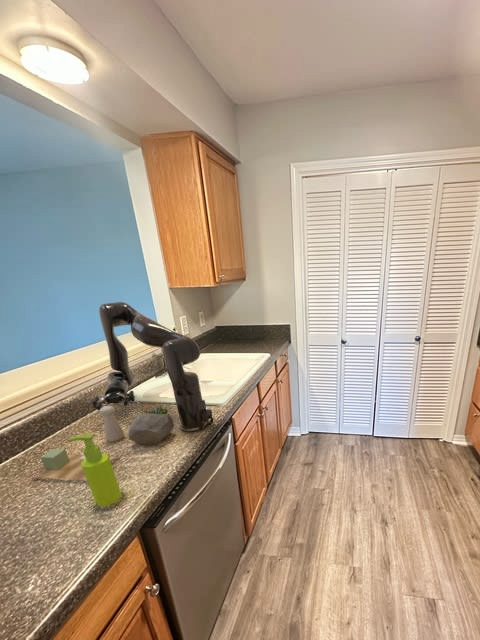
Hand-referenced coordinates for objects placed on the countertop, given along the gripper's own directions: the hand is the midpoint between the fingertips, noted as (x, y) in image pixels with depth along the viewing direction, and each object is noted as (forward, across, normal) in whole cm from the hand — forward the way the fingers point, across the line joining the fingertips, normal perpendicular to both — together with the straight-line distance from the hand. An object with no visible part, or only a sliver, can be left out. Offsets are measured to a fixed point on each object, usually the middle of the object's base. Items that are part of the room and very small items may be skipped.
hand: (112, 406), depth 120 cm
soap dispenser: (+45, +2, +10) cm, 46 cm away
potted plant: (+15, +13, +10) cm, 22 cm away
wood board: (+24, -9, +9) cm, 27 cm away
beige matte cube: (+27, -4, +8) cm, 29 cm away
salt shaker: (+10, 0, +10) cm, 14 cm away
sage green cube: (+21, -15, +8) cm, 27 cm away
